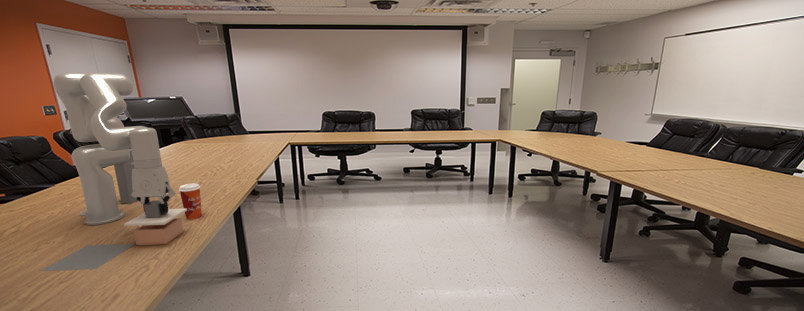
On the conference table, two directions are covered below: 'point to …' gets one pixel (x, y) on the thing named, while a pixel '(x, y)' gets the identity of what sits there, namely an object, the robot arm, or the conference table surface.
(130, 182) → the tall grey upright block
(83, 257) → the mat
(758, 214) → the conference table surface
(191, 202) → the paper cup
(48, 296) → the conference table surface
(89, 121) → the robot arm
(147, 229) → the open box
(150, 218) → the cover
